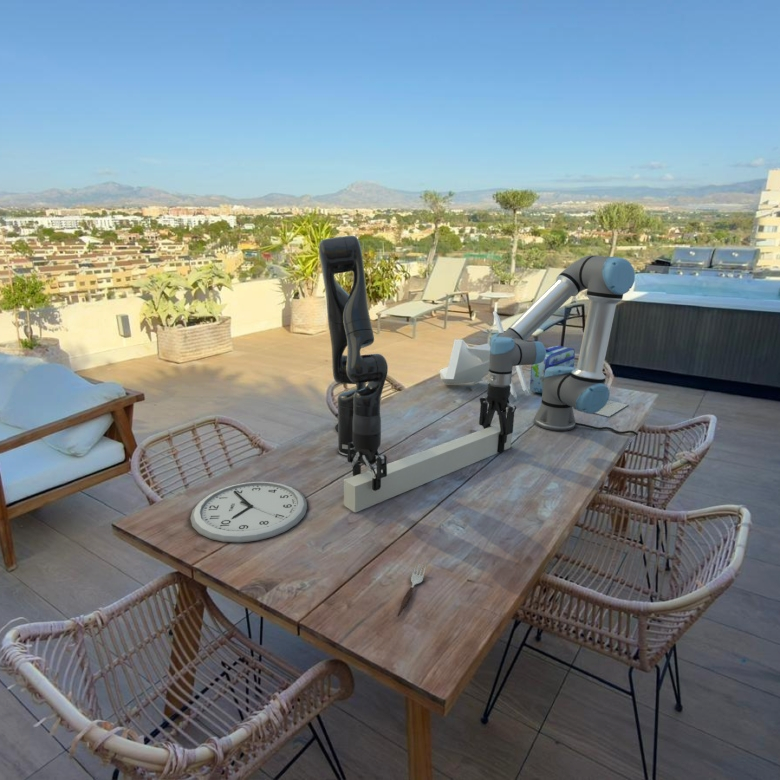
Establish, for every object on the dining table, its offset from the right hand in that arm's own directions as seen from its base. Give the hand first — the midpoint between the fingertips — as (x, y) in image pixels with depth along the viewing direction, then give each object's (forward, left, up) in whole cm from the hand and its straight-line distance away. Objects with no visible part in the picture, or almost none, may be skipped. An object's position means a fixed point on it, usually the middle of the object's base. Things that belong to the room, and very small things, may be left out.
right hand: (493, 448), depth 180 cm
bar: (+19, +21, -1) cm, 28 cm away
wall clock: (+68, +51, -1) cm, 85 cm away
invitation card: (-50, -54, -1) cm, 73 cm away
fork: (+23, +78, -1) cm, 81 cm away
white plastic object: (+2, -66, -1) cm, 66 cm away
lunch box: (-31, -74, -1) cm, 81 cm away
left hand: (+38, +42, +5) cm, 57 cm away
